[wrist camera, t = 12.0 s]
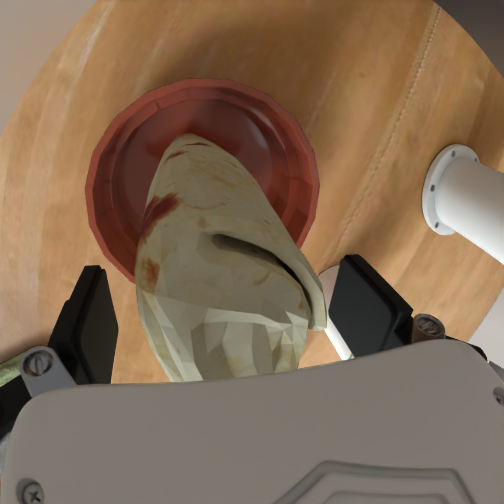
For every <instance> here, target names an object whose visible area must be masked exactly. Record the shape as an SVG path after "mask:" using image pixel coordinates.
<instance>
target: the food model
mask: <svg viewBox="0 0 504 504" xmlns="http://www.w3.org/2000/svg"><path fill="white" fill-rule="evenodd" d="M134 274H135V285H136V294H137V303H138V311H139V316H140V319H141V322H142V325H143V327H144V330H145V333H146V336H147V338H148V341H149V343H150V346H151V349H152V350H153V352H154V354H155V356H156V357H157V359H158V361H159V362H160V364H161V366H162V367H163V369H164V371H165V372H166V374H167V376H168V377H169V379H170V380H171V381H172V382H186V381H201V380H213V379H224V378H234V377H243V376H252V375H259V374H267V373H274V372H281V371H287V370H294V369H297V368H298V364H299V360H300V358H301V355H302V352H303V349H304V346H305V342H306V336H307V331H308V328H309V329H310V330H312V331H313V330H323V329H326V328H327V309H326V303H325V298H324V293H323V287H322V284H321V282H320V280H319V279H318V277H317V275H316V274H315V272H314V270H313V269H312V267H311V265H310V264H309V262H308V261H307V259H306V257H305V256H304V254H303V253H302V252H301V251H300V249H299V248H298V247H297V246H296V244H295V243H294V242H293V240H292V238H291V236H290V235H289V233H288V231H287V230H286V228H285V226H284V225H283V223H282V221H281V220H280V218H279V216H278V215H277V213H276V212H275V211H274V209H273V208H272V206H271V205H270V203H269V201H268V200H267V198H266V196H265V194H264V193H263V191H262V189H261V188H260V186H259V184H258V183H257V181H256V180H255V179H254V177H253V176H252V175H251V174H250V173H249V172H248V171H247V169H246V168H245V167H244V166H243V165H242V164H241V163H240V162H239V161H238V160H237V159H236V158H235V157H234V156H232V155H231V154H229V153H228V152H226V151H224V150H223V149H222V148H220V147H219V146H217V145H216V144H214V143H212V142H210V141H208V140H206V139H204V138H202V137H199V136H197V135H195V134H192V133H184V134H181V135H179V136H177V137H176V138H175V139H174V141H173V142H172V144H171V145H170V146H169V147H168V148H167V149H166V151H165V153H164V155H163V157H162V159H161V161H160V164H159V166H158V168H157V171H156V174H155V176H154V178H153V181H152V183H151V186H150V189H149V193H148V198H147V202H146V207H145V212H144V218H143V223H142V228H141V232H140V236H139V241H138V247H137V255H136V263H135V272H134Z"/></svg>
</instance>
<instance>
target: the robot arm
mask: <svg viewBox="0 0 504 504" xmlns="http://www.w3.org/2000/svg"><path fill="white" fill-rule="evenodd" d="M422 208H423V214H424V217H425V220H426V222H427V224H428V226H429V227H430V228H431V229H432V230H434V231H436V232H437V233H439V234H442V235H450V234H453V233H455V232H458V233H460V234H461V235H463V236H464V237H466V238H467V239H468V240H470V241H471V242H473V243H474V244H476V245H477V246H479V247H480V248H482V249H483V250H484V251H486V252H487V253H489V254H490V255H491V256H493V257H494V258H495V259H497V260H498V261H499V262H501V263H502V264H503V265H504V173H502V172H500V171H497V170H495V169H492V168H490V167H488V166H485V165H483V164H480V161H479V159H478V157H477V155H476V153H475V152H474V151H473V150H472V149H471V148H469V147H467V146H464V145H461V144H453V145H450V146H448V147H446V148H445V149H443V150H442V151H441V152H440V153H439V154H438V155H437V157H436V158H435V159H434V161H433V162H432V164H431V166H430V168H429V170H428V173H427V176H426V179H425V183H424V187H423V194H422ZM412 312H413V309H412V308H411V307H410V305H409V304H408V303H407V302H406V301H405V300H404V299H403V298H402V297H401V296H400V295H399V294H398V293H397V292H396V291H395V290H394V289H393V288H392V287H391V286H390V285H389V284H388V283H387V281H386V280H385V279H384V278H383V277H382V276H381V275H380V274H379V273H378V272H377V271H376V270H375V269H374V268H373V267H372V266H371V265H370V264H369V263H368V262H367V261H366V260H365V259H364V258H362V257H361V256H360V255H359V254H353V255H346V256H345V257H344V258H343V259H341V261H340V265H339V269H338V274H337V278H336V282H335V286H334V290H333V294H332V297H331V301H330V305H329V309H328V315H329V318H330V319H331V321H332V323H333V324H334V326H335V327H336V329H337V330H338V332H339V334H340V335H341V337H342V338H343V340H344V342H345V343H346V345H347V346H348V348H349V350H350V351H351V353H352V354H353V356H354V358H352V359H347V360H342V361H337V362H332V363H327V364H322V365H317V366H311V367H306V368H300V369H294V370H287V371H281V372H274V373H267V374H259V375H252V376H243V377H234V378H224V379H213V380H201V381H186V382H165V383H126V384H110V383H111V376H112V369H113V362H114V355H115V349H116V343H117V338H118V323H117V319H116V315H115V311H114V307H113V303H112V298H111V294H110V289H109V285H108V280H107V275H106V271H105V269H101V267H100V266H99V265H92V266H85V267H84V269H83V271H82V273H81V275H80V277H79V279H78V281H77V284H76V286H75V288H74V290H73V292H72V295H71V297H70V299H69V300H67V301H66V302H65V303H64V306H63V308H62V310H61V313H60V315H59V317H58V320H57V322H56V325H55V327H54V329H53V332H52V335H51V337H50V340H49V342H48V345H47V347H46V346H38V347H34V348H32V349H30V350H29V351H27V352H26V353H25V354H24V355H23V356H22V358H21V360H20V362H19V370H20V375H18V376H17V377H15V378H14V379H12V380H10V381H9V382H7V383H6V384H4V385H3V386H1V387H0V504H504V369H503V368H501V367H500V366H498V365H496V364H495V363H493V362H491V361H490V362H489V363H488V362H487V357H486V355H485V354H484V352H483V350H482V349H481V348H479V347H477V346H474V345H471V344H469V343H466V342H463V341H460V340H457V339H455V338H452V337H449V336H446V335H445V328H444V325H443V324H442V323H441V322H440V321H439V320H438V319H437V318H435V317H434V316H431V315H428V314H418V315H416V316H415V317H414V318H412V317H411V314H412Z"/></svg>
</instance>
